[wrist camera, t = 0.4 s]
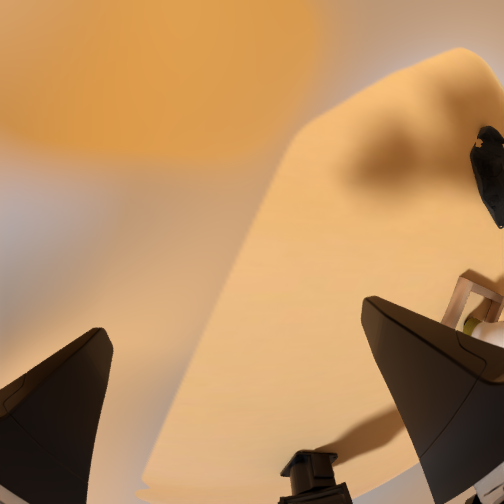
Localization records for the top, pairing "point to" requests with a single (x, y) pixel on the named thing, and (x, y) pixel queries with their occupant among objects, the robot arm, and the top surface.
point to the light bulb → (485, 331)
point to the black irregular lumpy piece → (490, 171)
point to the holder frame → (461, 298)
